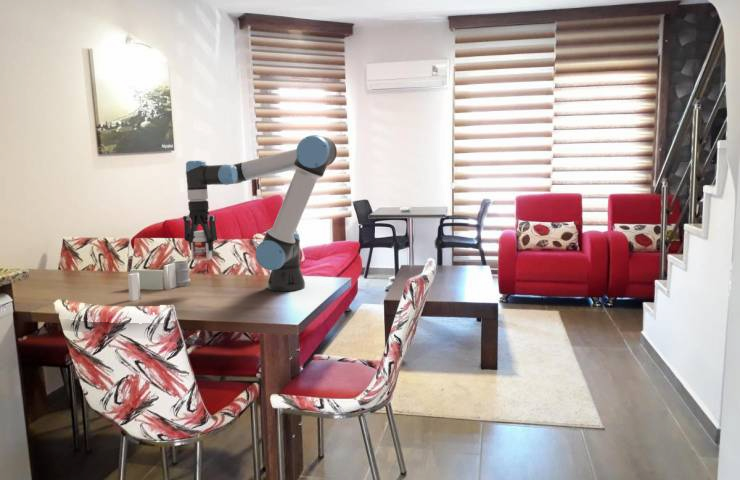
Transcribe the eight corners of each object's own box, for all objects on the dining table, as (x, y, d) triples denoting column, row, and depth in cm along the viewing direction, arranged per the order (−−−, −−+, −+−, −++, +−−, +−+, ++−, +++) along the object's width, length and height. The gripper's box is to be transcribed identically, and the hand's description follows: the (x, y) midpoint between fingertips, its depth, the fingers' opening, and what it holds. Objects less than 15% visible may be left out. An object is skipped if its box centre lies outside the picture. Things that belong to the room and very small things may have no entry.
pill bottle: (195, 261, 223) (192, 232, 222) (193, 259, 229) (191, 231, 227) (211, 259, 226) (209, 231, 224) (209, 257, 231) (207, 229, 230)
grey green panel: (161, 290, 234) (160, 271, 233) (130, 289, 237) (128, 270, 236) (164, 289, 237) (163, 269, 236) (133, 288, 239) (131, 269, 238)
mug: (179, 287, 239) (177, 259, 238) (162, 284, 246) (160, 256, 245) (194, 284, 245) (193, 256, 244) (177, 281, 252) (176, 254, 251)
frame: (176, 287, 240) (175, 263, 239) (132, 301, 216) (131, 274, 215) (173, 286, 241) (171, 263, 239) (129, 300, 217) (127, 274, 215)
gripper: (224, 199, 225) (228, 257, 228) (183, 200, 231) (187, 256, 234) (213, 200, 218) (217, 260, 221) (171, 201, 224) (175, 259, 227)
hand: (202, 258), depth 227 cm, fingers closed on pill bottle, 6 cm apart
